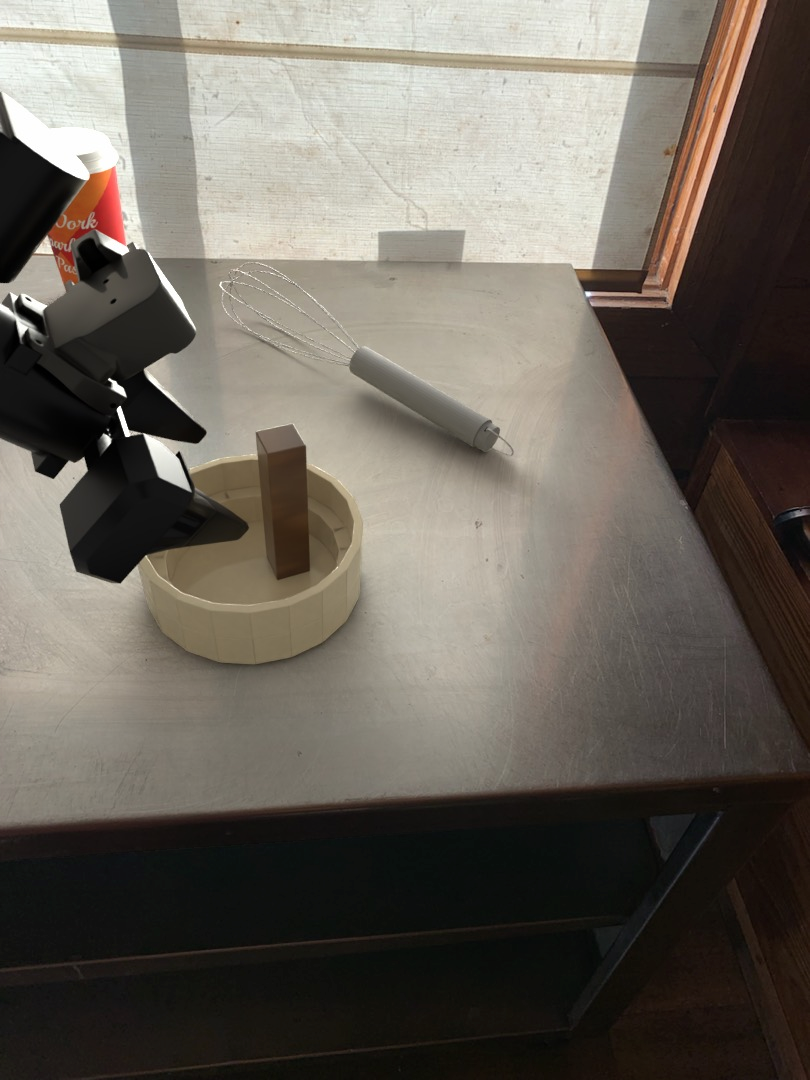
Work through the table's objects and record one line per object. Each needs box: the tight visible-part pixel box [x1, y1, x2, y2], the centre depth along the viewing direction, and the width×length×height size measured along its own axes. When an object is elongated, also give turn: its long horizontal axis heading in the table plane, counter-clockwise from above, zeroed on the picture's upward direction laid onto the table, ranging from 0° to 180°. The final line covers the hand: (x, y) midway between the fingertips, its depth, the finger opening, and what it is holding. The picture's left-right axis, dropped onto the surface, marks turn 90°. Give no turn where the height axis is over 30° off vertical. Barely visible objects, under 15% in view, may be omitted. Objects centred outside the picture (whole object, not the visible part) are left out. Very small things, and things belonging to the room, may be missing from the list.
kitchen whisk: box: [218, 261, 515, 457], centre depth 70 cm, size 6×34×6 cm, turn 50°
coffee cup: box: [46, 127, 128, 291], centre depth 74 cm, size 8×8×15 cm
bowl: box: [137, 454, 364, 665], centre depth 52 cm, size 14×14×6 cm
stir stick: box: [255, 423, 310, 580], centre depth 51 cm, size 2×2×11 cm
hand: (221, 481), depth 47 cm, fingers open, 9 cm apart
